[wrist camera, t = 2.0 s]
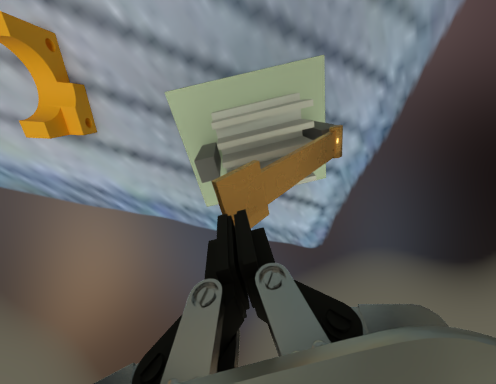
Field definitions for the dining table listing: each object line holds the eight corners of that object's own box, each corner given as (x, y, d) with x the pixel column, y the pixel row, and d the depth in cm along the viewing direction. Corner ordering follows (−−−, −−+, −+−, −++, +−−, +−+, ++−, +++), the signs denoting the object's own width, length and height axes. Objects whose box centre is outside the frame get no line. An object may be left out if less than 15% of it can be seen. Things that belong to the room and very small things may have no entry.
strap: (333, 119, 22) (345, 118, 21) (332, 159, 24) (343, 160, 23) (208, 180, 12) (219, 184, 11) (227, 235, 15) (237, 242, 14)
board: (320, 56, 28) (369, 33, 18) (322, 175, 37) (356, 199, 28) (166, 92, 27) (137, 87, 18) (207, 203, 36) (201, 238, 27)
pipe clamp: (97, 132, 29) (66, 139, 23) (66, 130, 28) (26, 137, 22) (71, 35, 24) (21, 13, 18) (32, 31, 23) (-32, 7, 17)
